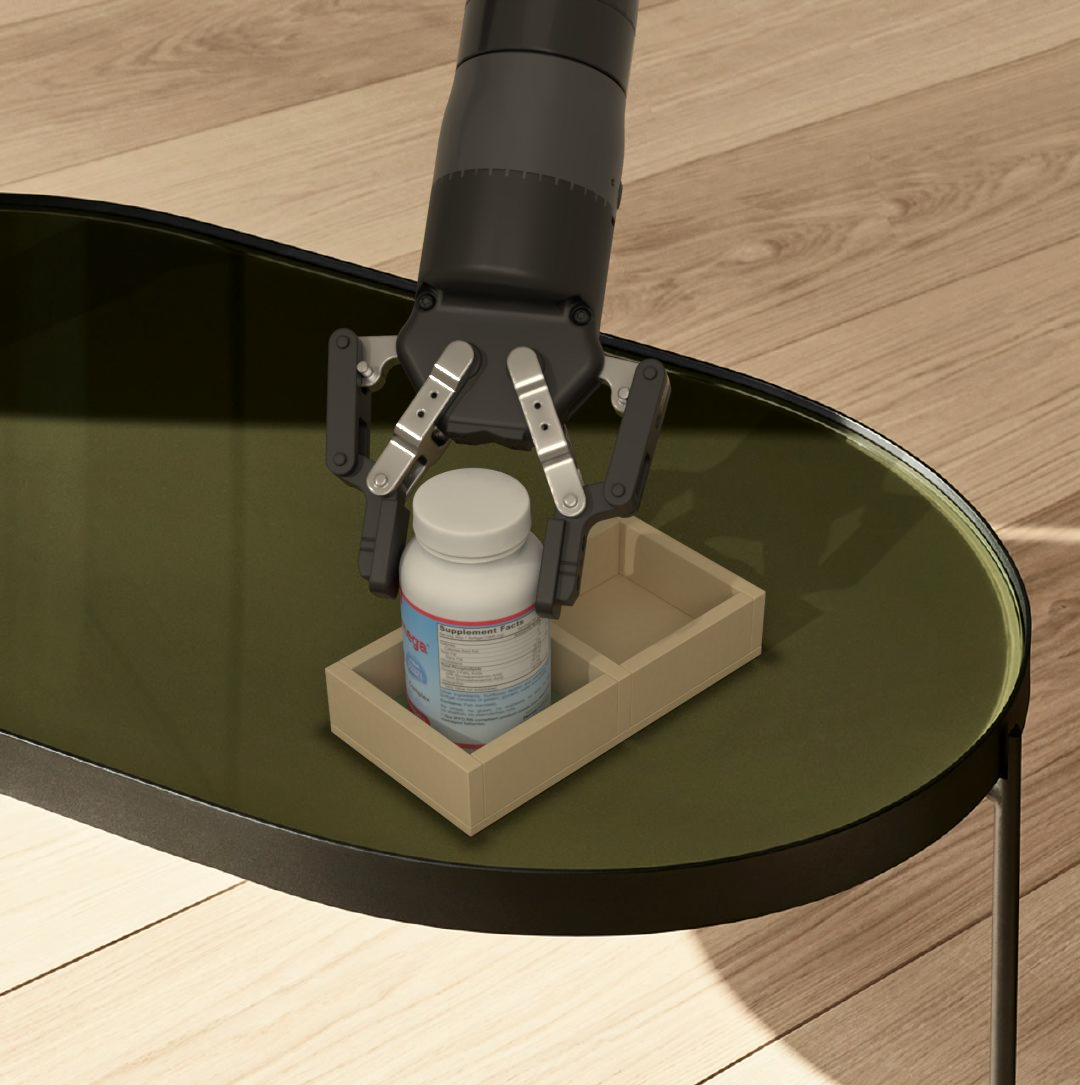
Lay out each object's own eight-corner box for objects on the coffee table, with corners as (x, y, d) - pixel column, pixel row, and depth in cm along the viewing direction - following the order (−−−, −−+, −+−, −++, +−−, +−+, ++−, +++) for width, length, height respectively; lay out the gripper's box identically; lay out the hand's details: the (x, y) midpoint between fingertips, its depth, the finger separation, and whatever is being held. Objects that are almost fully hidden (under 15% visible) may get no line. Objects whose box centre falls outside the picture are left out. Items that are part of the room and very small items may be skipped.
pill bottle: (412, 674, 86) (397, 456, 79) (551, 673, 86) (548, 455, 78) (404, 766, 81) (387, 543, 74) (551, 765, 81) (549, 542, 74)
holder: (470, 837, 79) (467, 772, 77) (330, 731, 84) (324, 668, 82) (761, 654, 88) (766, 591, 86) (619, 568, 93) (620, 507, 91)
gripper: (328, 147, 76) (263, 569, 75) (694, 176, 74) (633, 613, 73) (374, 214, 84) (316, 600, 82) (708, 243, 81) (653, 641, 80)
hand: (465, 604), depth 77 cm, fingers closed on pill bottle, 6 cm apart
